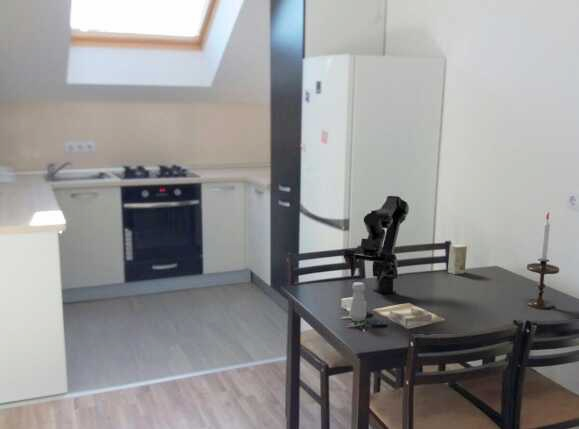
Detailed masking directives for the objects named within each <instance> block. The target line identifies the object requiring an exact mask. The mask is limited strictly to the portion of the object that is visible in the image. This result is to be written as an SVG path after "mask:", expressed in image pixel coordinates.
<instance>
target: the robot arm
mask: <svg viewBox="0 0 579 429" xmlns="http://www.w3.org/2000/svg"><path fill="white" fill-rule="evenodd" d="M409 210H410V208H409V204H408V202H407V201H405V200H403V199H402V198H401V196H398V195H387V196H386V200H385V202H384V203H383V204H382V205H381V207H380V208H379V209H375V210H371V211H370V212H369V213H367V214H366V215H365V216H364V217H363V223H364V227H365V229H366V232H367V233H368V235H367V238H361V242H360V248H361V250H360V251H361V252H362V253H357V251H356V249H351V248H346V249H344V250H343V253H342V256H343V258H344V261H345V262H346V263H347V264H348V266H350V267H349V268H350V277H351V279H353V278H354V277H355V274H356V270H357V266H358V265H357V263H358V260H360V261H366V262H372V277H373V278H375V277H376V288H373V290H372V291H374V292H376V293H378V294H380V295H390V294H391V295H392V294H396V293H397V291H396V290H394V280H395V279H398V275H399V274H398V266H399V263H398V258H397V255H396V254H394V253H395V248H396V244H397V239H398V236H399V235H398V234H399V231H400V226H401V224H402V223H404V221H405V220H406V218H407V215H408V214H409ZM385 229H386V230H385Z"/></svg>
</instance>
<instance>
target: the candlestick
mask: <svg viewBox="0 0 579 429" xmlns="http://www.w3.org/2000/svg"><path fill="white" fill-rule="evenodd" d="M545 217H546V218H545V219H546V221H545V222H544V223H543V234H542V242H541V256H540V258H538V259H537V261H539V262H540V263H538V262H537V263H528V264H527V265H526V270H528V271H529V272H532V273H536V274H539V275H540V276H539V283H537V288H538V290H537V291H536V292H537V293H538V297H537V298H530V299H529V298H528V299H527V300H526V305H527V306H528V307H530V306H531V308H533V307H534V308H533V309H537V308H539V309H540V310H549V309H548V308H551V309H553V308H552V307H554V304H553V302H551V301H550V300H546V299H544V298H543V294H545V291H544V289H545V288H546V284H545V282H544V281H545V275H557V274H559V273H560V268H559V267H558V266H557V265H554V264H553V265H552V264H548V263H549V262H550V260H549V259H547V258H548V248H549V239H550V238H549V237H550V227H551V226H550V225H551V224H550V223H549V218H550V213H549V211H547V215H546V216H545ZM539 309H538V310H539Z"/></svg>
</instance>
